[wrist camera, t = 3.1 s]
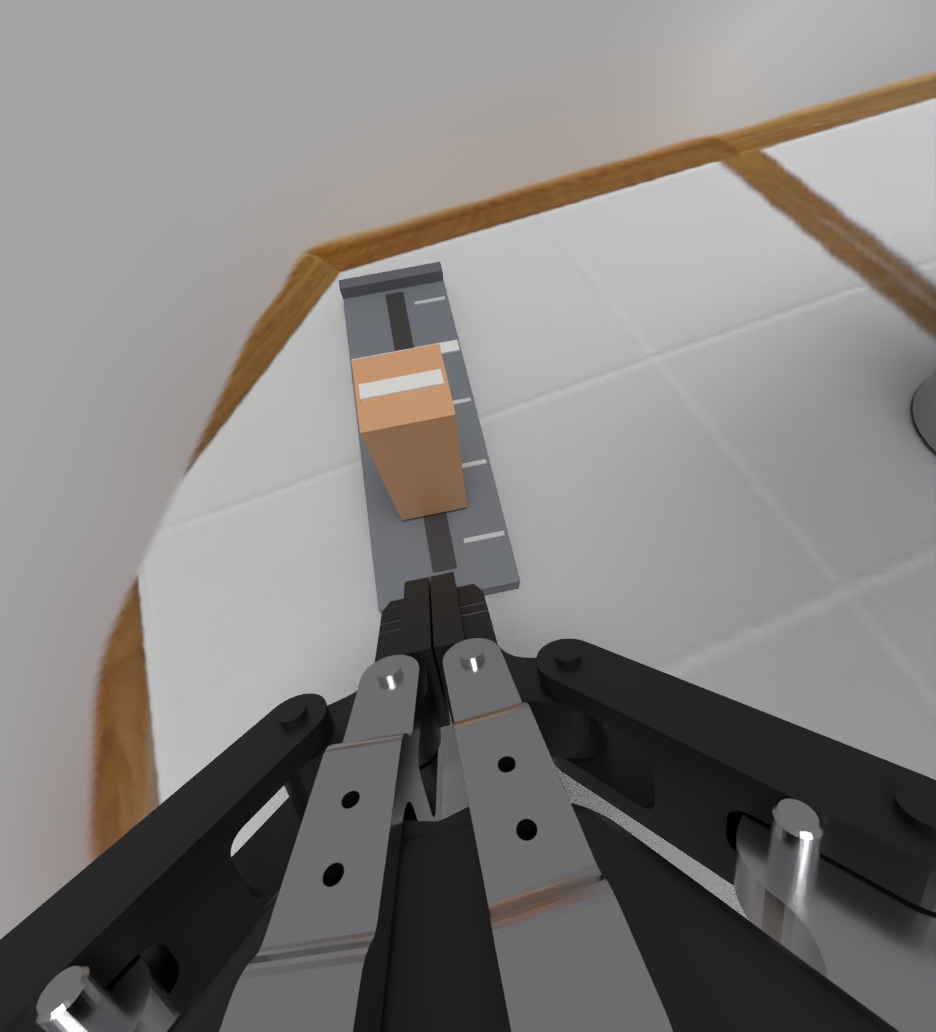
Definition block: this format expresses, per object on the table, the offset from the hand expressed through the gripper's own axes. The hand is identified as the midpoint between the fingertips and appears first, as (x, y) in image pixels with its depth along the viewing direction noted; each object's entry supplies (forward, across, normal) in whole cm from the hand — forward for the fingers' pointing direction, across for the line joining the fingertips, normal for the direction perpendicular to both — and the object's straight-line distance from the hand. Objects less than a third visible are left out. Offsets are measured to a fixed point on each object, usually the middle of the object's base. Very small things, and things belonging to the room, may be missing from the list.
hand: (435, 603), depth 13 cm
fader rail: (+20, 0, -3) cm, 20 cm away
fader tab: (+15, 0, 0) cm, 15 cm away
